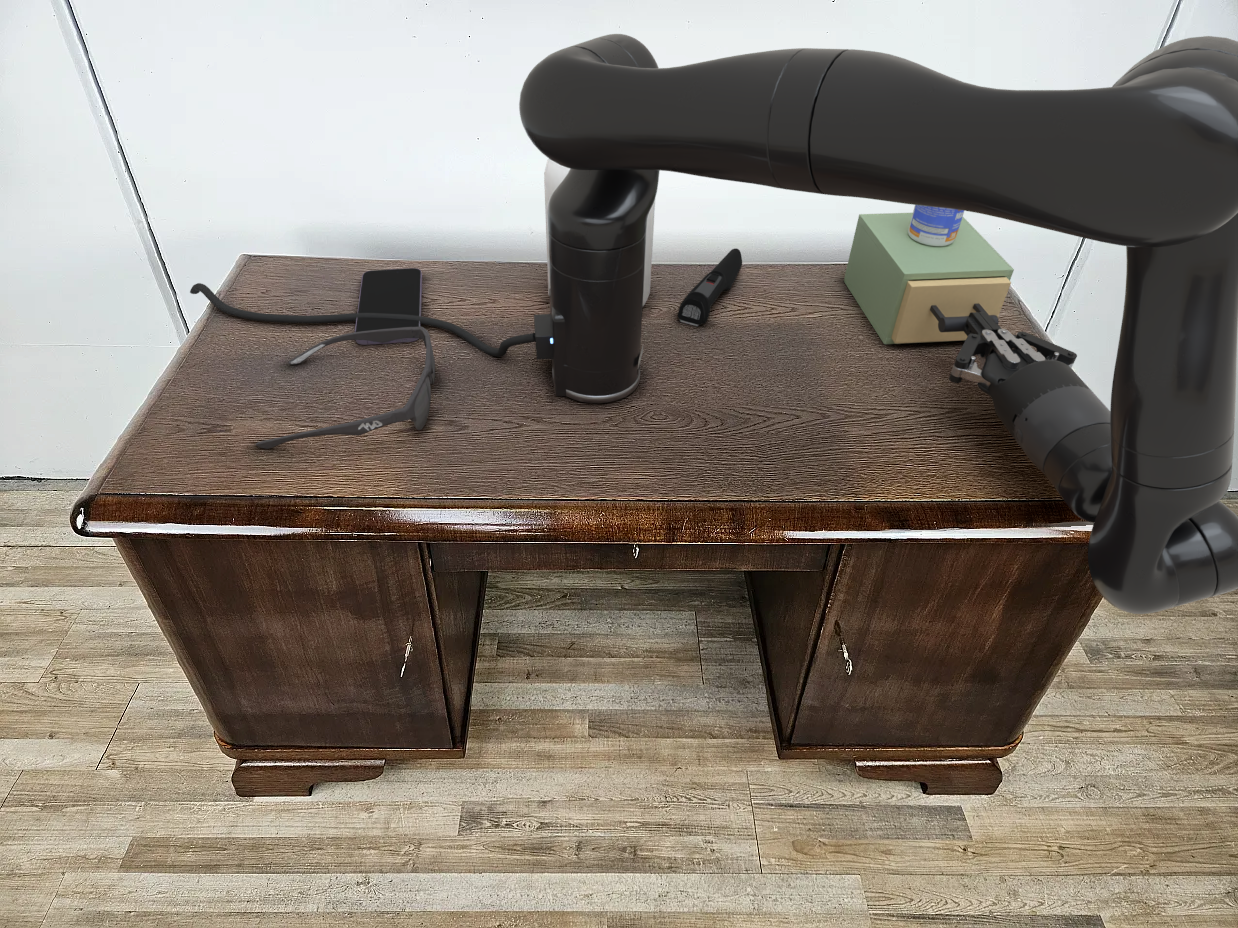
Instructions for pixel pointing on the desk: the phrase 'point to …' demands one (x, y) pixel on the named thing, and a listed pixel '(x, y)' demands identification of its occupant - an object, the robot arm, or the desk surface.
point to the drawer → (946, 307)
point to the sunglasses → (412, 410)
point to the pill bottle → (934, 225)
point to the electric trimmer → (710, 289)
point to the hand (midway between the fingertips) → (973, 319)
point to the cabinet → (909, 264)
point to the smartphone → (389, 300)
